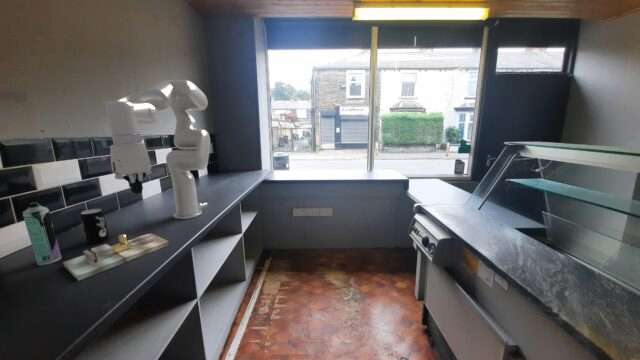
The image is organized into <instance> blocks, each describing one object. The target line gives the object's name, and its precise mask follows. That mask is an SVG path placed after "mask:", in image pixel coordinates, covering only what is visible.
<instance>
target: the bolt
mask: <svg viewBox="0 0 640 360" xmlns="http://www.w3.org/2000/svg"><path fill="white" fill-rule="evenodd" d="M117 237H118V240H119V243H120V244H119V243H116V244H117V245H116V244H113V245H114V246H113V245H110V246H111V247H112V251H113V254H114V253H117V252H120V251H123V250H125V249H128V248H131V243H130V242H128V239H127V234H126V233H123V234H119V235H118V236H117ZM91 253H92V252H91ZM92 254H93V258H94V261H95V260H97V258H96V254H95V253H92Z"/></svg>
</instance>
